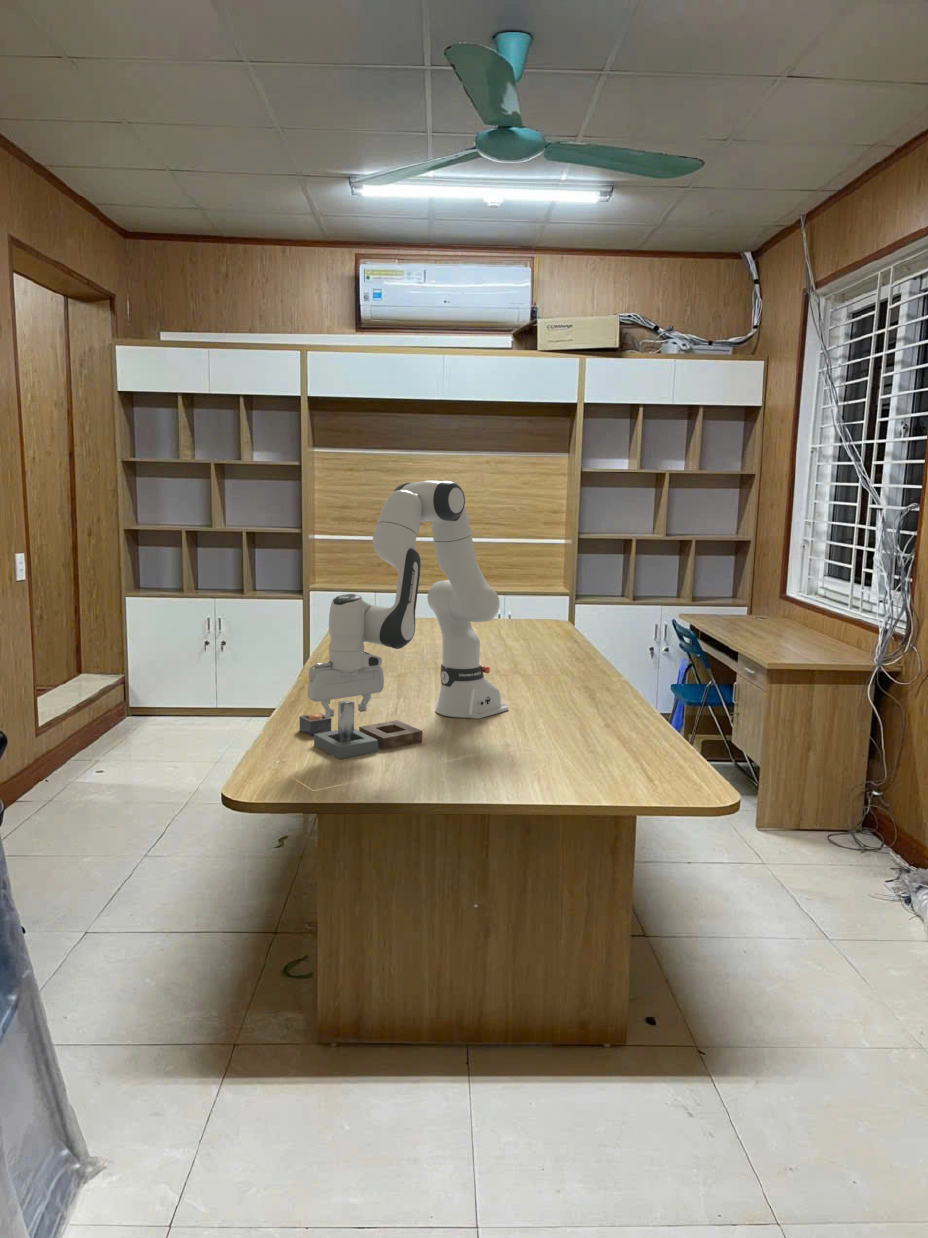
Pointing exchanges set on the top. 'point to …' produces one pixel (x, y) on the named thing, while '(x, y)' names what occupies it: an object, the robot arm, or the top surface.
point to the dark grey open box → (315, 725)
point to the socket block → (392, 734)
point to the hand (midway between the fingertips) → (346, 713)
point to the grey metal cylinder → (345, 721)
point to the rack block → (345, 744)
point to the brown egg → (315, 716)
